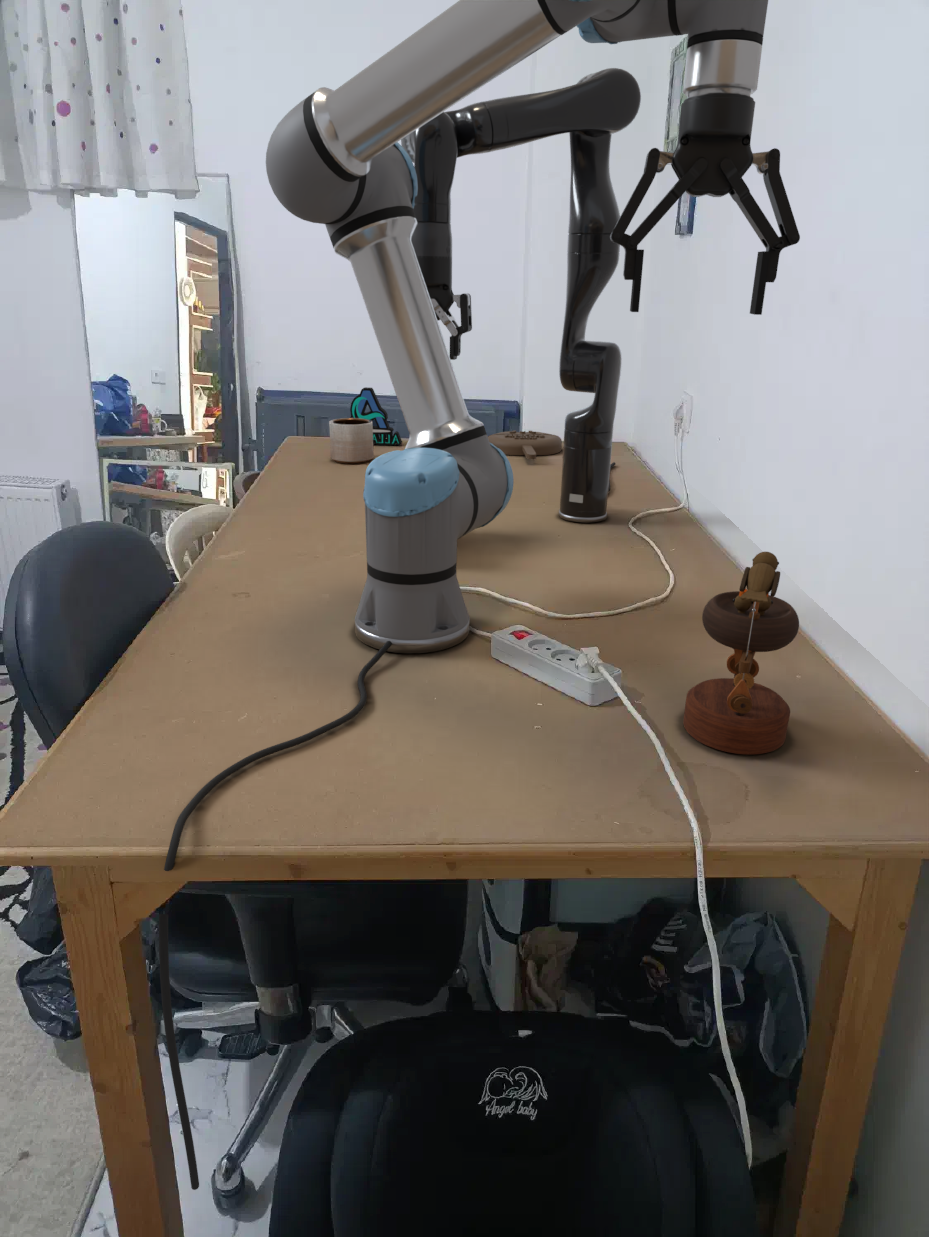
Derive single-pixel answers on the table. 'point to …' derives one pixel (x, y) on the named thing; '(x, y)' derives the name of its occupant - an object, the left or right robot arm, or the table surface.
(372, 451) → the planter
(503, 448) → the ice cream bar
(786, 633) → the music box
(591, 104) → the right robot arm
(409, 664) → the table surface
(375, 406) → the decorative sign
